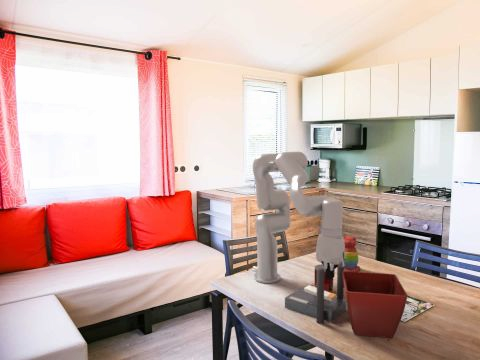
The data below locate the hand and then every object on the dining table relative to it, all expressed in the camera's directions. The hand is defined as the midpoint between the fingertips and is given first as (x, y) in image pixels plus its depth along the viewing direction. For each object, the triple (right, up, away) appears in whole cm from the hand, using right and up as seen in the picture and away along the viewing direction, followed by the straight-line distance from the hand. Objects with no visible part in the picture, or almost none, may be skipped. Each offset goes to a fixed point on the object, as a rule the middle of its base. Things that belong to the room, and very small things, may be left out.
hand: (329, 278), depth 140 cm
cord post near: (-5, -14, -6) cm, 16 cm away
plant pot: (+12, -15, -10) cm, 22 cm away
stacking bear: (+21, -8, +46) cm, 51 cm away
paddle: (-3, -6, +3) cm, 8 cm away
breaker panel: (-4, -13, +5) cm, 15 cm away
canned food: (+3, -11, +21) cm, 24 cm away
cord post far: (+6, -13, +7) cm, 16 cm away
